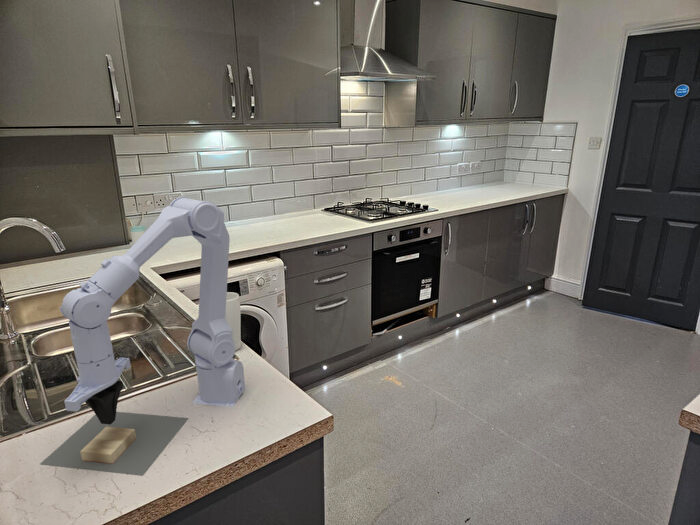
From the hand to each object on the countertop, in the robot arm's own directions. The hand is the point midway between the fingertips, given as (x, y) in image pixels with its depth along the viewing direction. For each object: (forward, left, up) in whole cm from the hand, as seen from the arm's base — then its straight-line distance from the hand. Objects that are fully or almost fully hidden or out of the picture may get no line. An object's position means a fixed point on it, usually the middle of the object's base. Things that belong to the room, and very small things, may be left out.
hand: (108, 421), depth 84 cm
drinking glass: (-6, -41, -6) cm, 42 cm away
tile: (0, -3, -4) cm, 5 cm away
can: (+78, -131, -6) cm, 152 cm away
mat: (0, -2, -6) cm, 6 cm away
